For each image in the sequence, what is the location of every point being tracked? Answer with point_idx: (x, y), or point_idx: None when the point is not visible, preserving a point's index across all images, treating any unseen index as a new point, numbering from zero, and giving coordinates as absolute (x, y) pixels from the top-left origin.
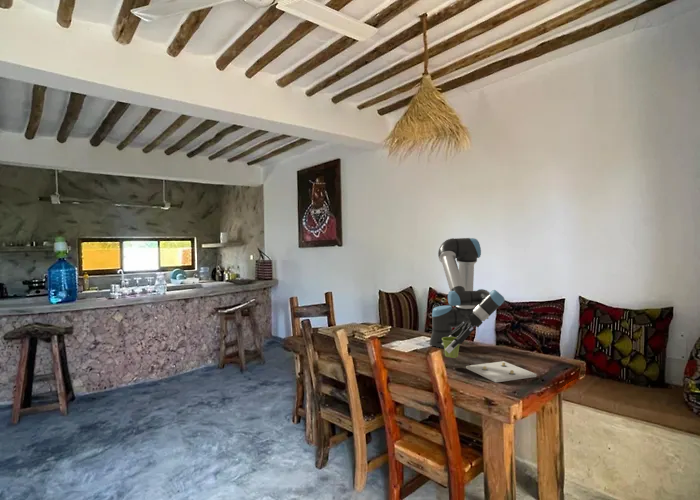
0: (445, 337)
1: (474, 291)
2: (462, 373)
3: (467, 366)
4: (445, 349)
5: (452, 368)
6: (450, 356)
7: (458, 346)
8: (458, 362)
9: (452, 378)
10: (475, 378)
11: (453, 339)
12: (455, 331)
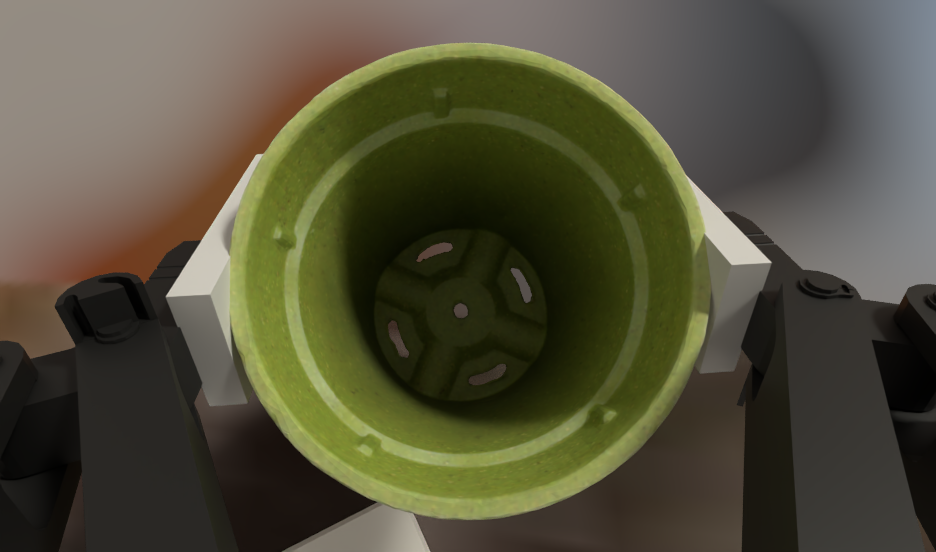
0: (643, 143)
1: None
2: (211, 416)
3: (379, 507)
4: (256, 160)
5: (395, 329)
6: (369, 283)
7: (369, 414)
8: None
9: (37, 284)
10: None
11: (655, 340)
12: (787, 395)
